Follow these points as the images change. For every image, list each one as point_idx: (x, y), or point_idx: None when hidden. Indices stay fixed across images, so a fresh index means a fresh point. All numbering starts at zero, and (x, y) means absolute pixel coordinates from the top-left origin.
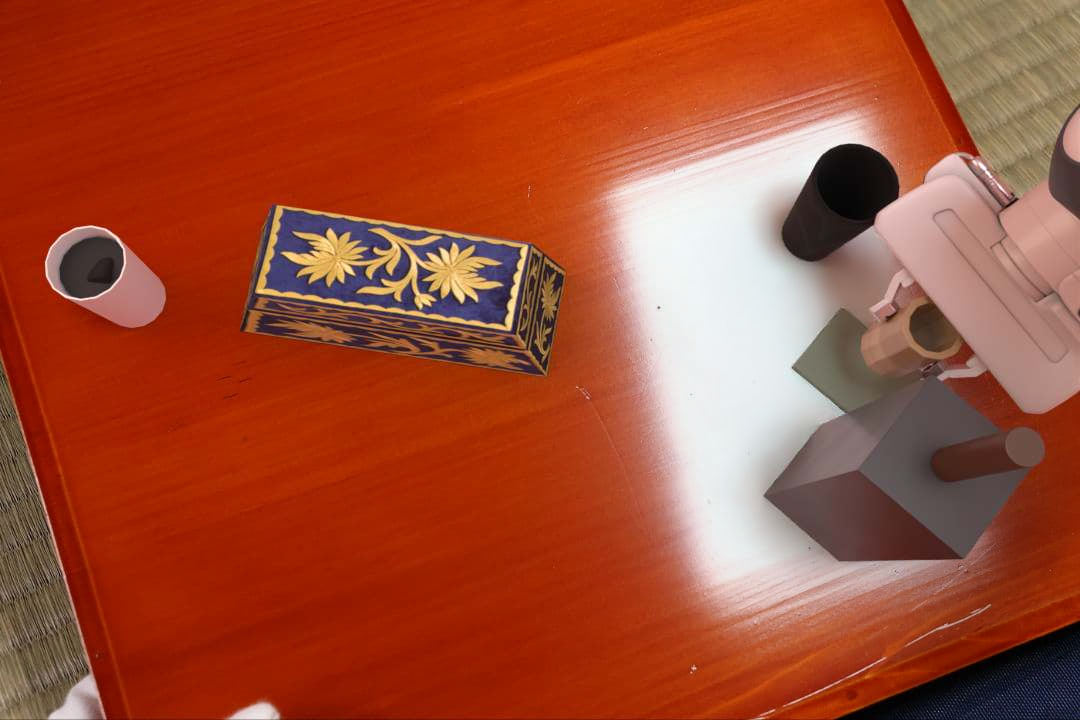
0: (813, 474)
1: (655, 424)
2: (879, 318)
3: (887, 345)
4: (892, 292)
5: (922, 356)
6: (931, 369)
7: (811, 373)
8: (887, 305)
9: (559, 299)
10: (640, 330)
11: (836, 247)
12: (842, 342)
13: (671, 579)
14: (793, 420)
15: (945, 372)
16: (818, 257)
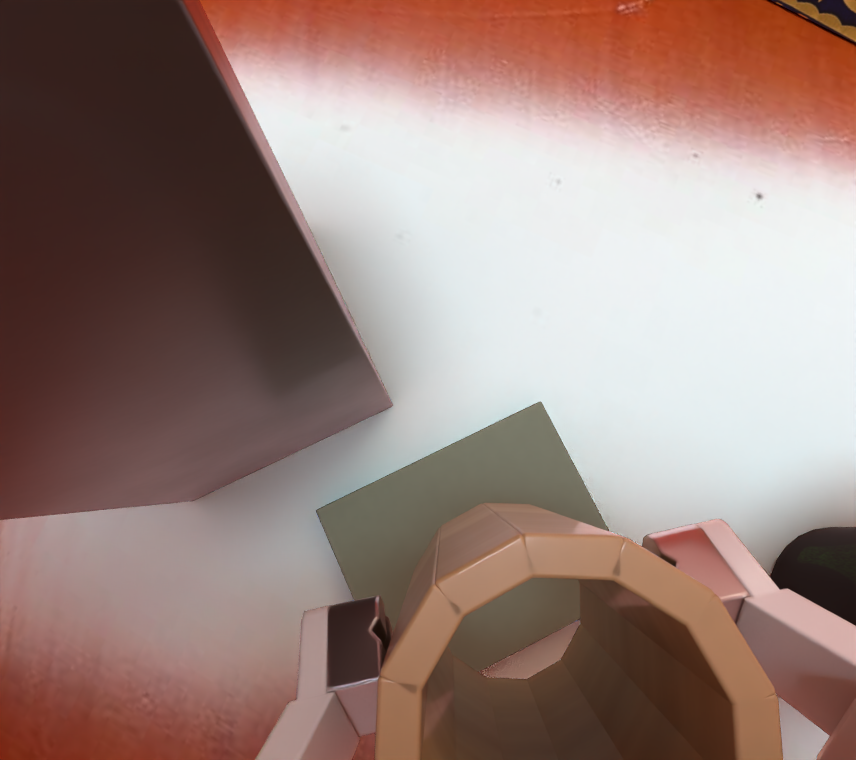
0: (209, 22)
1: (526, 97)
2: (669, 535)
3: (542, 516)
4: (814, 628)
5: (438, 577)
6: (368, 639)
7: (509, 432)
8: (734, 583)
9: (837, 17)
10: (721, 144)
11: (852, 619)
12: None
13: (245, 14)
14: (425, 353)
15: (323, 693)
16: (792, 583)
